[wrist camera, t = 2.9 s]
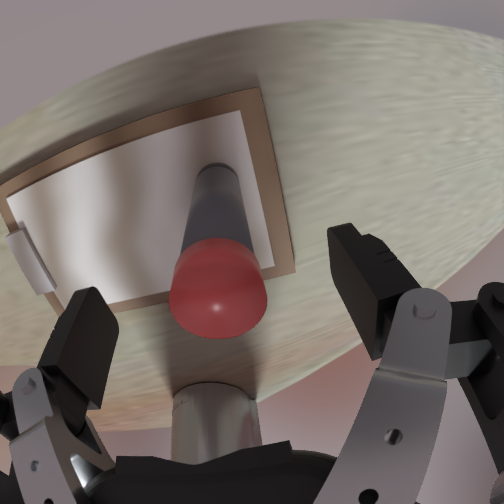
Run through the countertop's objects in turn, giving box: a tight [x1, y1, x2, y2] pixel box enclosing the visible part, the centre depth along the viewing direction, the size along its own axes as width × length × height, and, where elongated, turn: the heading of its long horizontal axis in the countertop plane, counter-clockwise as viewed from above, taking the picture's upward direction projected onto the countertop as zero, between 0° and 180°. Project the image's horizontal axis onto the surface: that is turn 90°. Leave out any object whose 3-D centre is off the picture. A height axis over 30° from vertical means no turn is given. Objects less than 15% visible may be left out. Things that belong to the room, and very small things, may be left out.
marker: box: [169, 163, 267, 339], centre depth 14 cm, size 3×3×12 cm
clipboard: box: [0, 87, 296, 317], centre depth 21 cm, size 22×14×2 cm, turn 102°
